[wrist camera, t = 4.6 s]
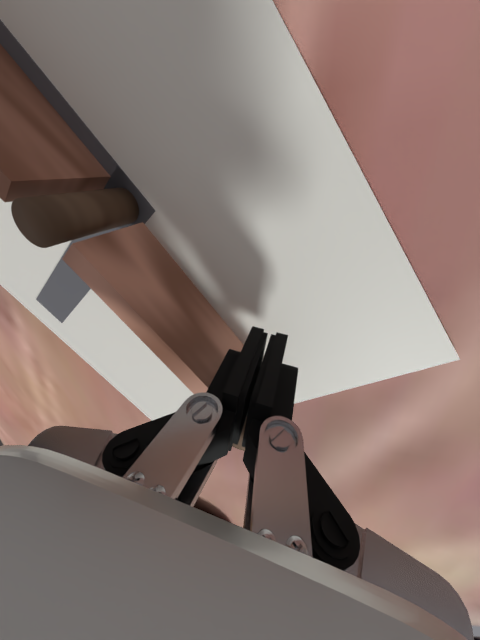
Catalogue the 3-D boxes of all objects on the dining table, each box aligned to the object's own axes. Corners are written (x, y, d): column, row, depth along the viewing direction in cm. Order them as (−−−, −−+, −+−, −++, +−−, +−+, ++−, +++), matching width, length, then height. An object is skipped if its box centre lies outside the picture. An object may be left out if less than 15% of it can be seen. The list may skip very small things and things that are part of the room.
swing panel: (130, 237, 12) (51, 265, 9) (147, 217, 11) (67, 240, 8) (258, 386, 15) (238, 452, 12) (279, 380, 15) (264, 448, 11)
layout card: (-249, -991, 4) (-314, -1123, 3) (456, 354, 11) (460, 360, 11) (-127, 162, 16) (-137, 162, 16) (171, 432, 24) (169, 437, 23)
